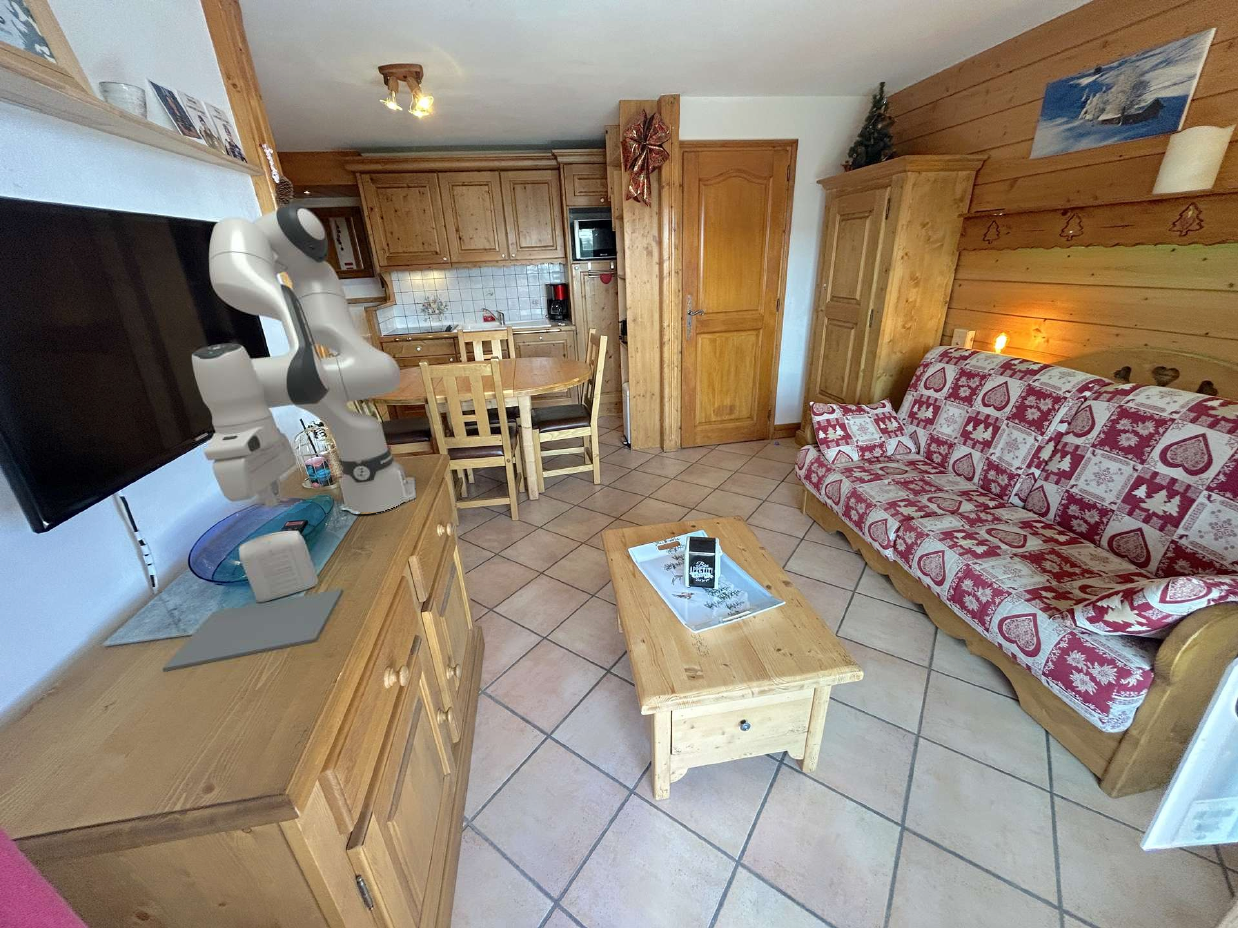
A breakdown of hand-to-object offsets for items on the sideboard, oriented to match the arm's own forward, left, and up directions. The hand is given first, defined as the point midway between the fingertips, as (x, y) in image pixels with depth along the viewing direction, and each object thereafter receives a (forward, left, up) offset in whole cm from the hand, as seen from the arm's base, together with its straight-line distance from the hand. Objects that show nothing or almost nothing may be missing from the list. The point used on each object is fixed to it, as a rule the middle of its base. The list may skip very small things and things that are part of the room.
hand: (274, 503), depth 93 cm
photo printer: (+6, 0, -16) cm, 17 cm away
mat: (+17, 0, -16) cm, 23 cm away
